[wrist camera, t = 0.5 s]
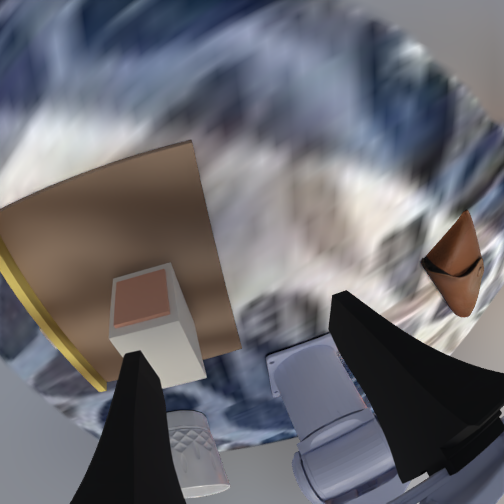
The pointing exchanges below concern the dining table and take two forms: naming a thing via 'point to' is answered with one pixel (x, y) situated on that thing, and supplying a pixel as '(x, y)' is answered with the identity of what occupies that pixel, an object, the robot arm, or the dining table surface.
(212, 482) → the white cup
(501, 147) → the dining table surface
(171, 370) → the carton
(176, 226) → the shelf board
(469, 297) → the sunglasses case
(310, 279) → the dining table surface
